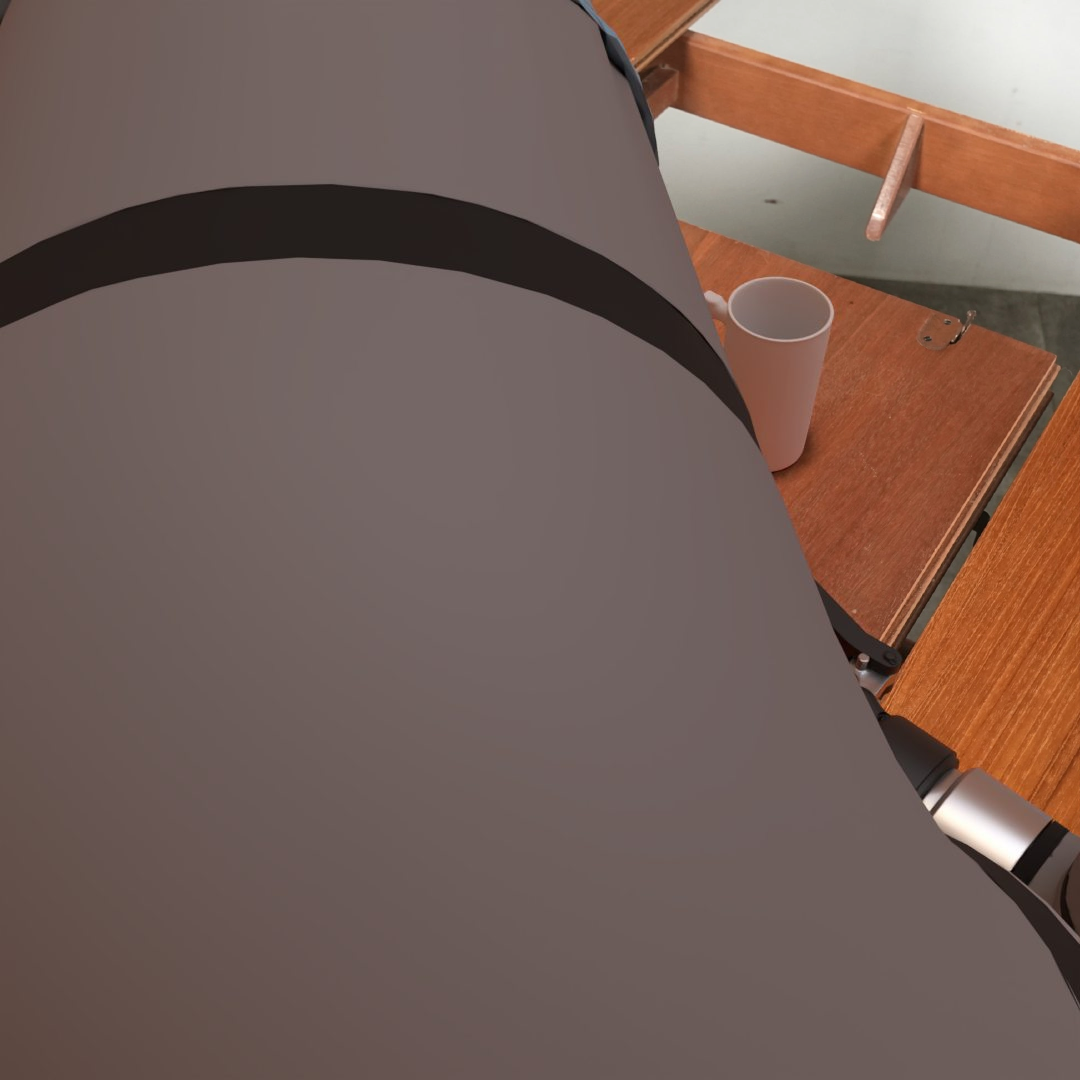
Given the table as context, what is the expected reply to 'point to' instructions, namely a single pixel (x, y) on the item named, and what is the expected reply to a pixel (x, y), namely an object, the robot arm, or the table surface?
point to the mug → (776, 357)
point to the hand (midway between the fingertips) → (567, 570)
